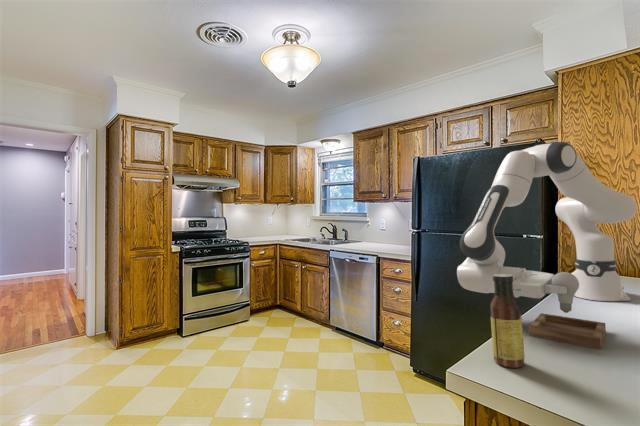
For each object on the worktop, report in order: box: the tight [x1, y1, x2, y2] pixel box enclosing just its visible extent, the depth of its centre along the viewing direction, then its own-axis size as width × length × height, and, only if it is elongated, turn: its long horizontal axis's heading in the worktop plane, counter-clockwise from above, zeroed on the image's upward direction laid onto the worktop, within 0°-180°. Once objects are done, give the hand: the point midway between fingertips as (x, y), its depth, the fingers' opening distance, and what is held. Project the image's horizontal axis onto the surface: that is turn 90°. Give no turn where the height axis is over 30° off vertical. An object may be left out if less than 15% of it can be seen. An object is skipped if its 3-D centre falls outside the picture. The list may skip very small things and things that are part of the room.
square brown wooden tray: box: [528, 313, 607, 350], centre depth 92 cm, size 15×15×2 cm
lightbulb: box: [552, 271, 579, 314], centre depth 92 cm, size 6×6×11 cm
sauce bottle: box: [489, 274, 526, 369], centre depth 76 cm, size 7×6×20 cm
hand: (569, 287), depth 91 cm, fingers closed on lightbulb, 5 cm apart
